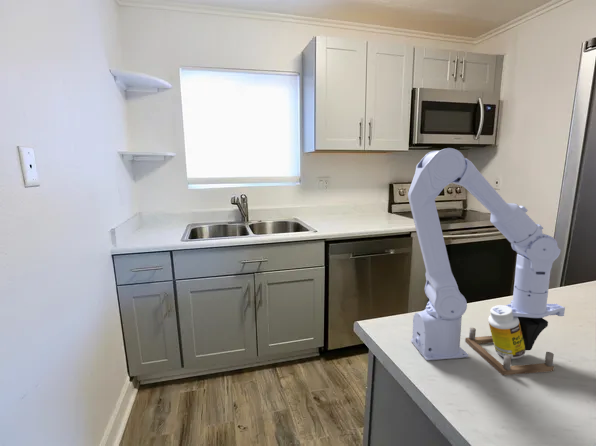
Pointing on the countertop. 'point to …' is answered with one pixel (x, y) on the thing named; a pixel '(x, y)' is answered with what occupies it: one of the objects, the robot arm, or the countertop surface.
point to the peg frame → (507, 358)
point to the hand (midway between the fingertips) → (524, 347)
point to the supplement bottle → (506, 332)
